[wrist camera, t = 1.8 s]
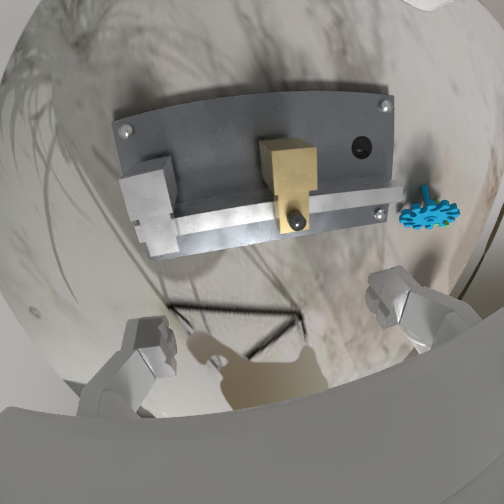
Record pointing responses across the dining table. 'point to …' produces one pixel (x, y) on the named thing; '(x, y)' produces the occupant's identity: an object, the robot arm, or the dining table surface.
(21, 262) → the dining table surface
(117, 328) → the dining table surface
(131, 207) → the trammel bar
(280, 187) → the block
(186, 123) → the bolt plate
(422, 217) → the gear
